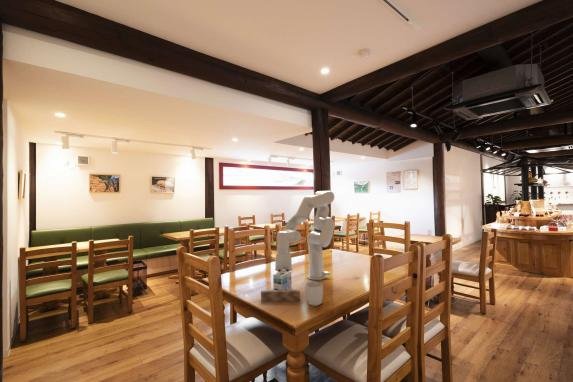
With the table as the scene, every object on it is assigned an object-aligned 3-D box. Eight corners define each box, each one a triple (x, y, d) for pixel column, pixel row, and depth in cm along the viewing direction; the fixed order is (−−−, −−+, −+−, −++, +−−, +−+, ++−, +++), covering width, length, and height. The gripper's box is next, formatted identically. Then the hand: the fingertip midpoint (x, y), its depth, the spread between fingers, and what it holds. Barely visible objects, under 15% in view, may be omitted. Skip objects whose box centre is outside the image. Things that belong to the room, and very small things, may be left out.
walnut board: (299, 299, 146) (299, 290, 147) (299, 301, 144) (299, 291, 144) (261, 299, 148) (261, 290, 148) (261, 301, 146) (260, 291, 146)
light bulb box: (282, 295, 154) (282, 276, 154) (273, 293, 157) (272, 274, 157) (292, 289, 163) (291, 271, 163) (282, 287, 166) (282, 270, 166)
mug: (320, 307, 135) (319, 288, 135) (303, 305, 139) (303, 286, 139) (327, 298, 147) (326, 280, 147) (311, 296, 150) (310, 278, 150)
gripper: (295, 249, 173) (295, 278, 173) (272, 249, 174) (272, 277, 174) (294, 251, 166) (295, 281, 165) (270, 252, 167) (271, 281, 166)
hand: (283, 279), depth 170 cm, fingers closed
